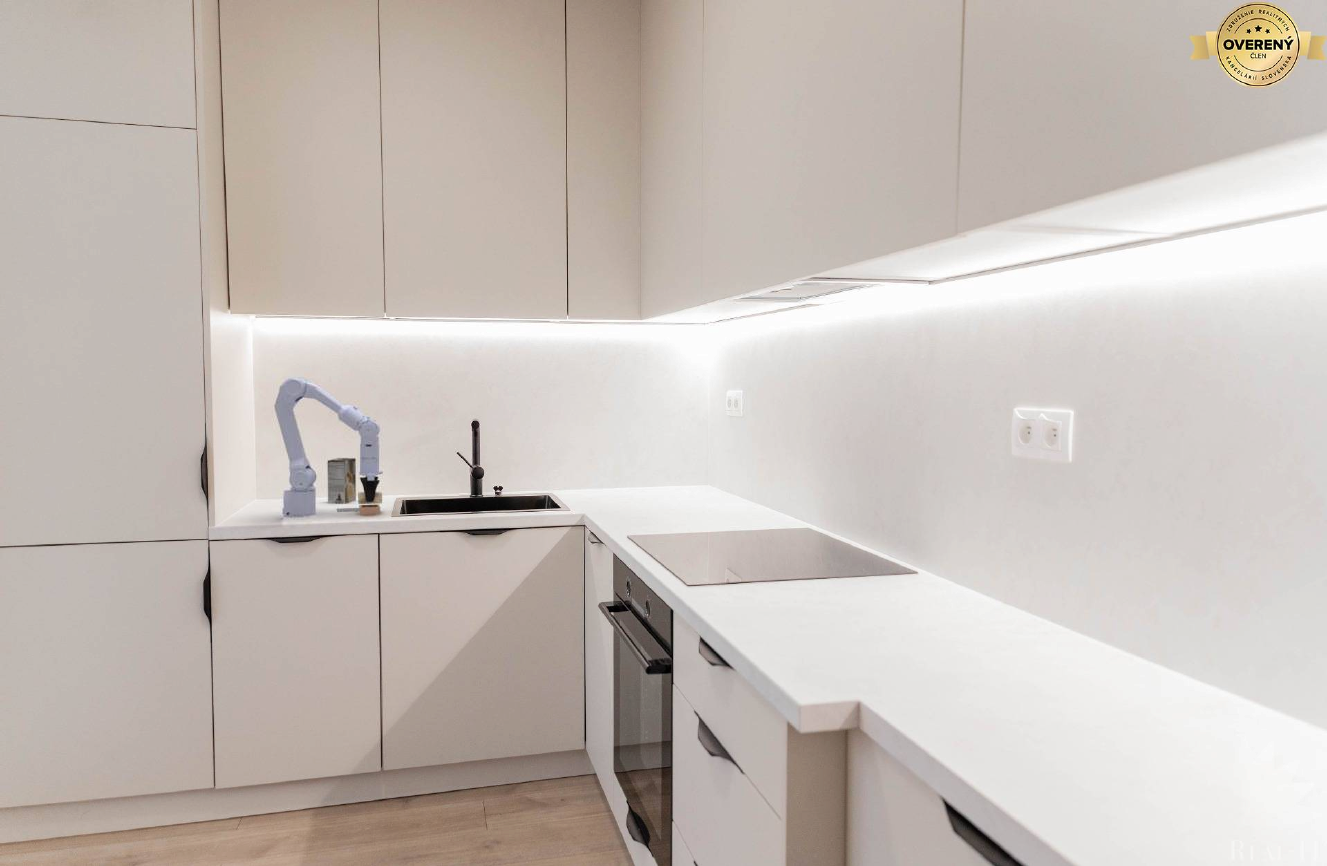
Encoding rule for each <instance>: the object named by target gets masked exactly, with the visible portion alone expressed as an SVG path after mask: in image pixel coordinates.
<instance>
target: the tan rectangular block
mask: <svg viewBox="0 0 1327 866" xmlns="http://www.w3.org/2000/svg"><path fill="white" fill-rule="evenodd" d="M357 494H358V495H357V502H358V505H373V504H379V505H380V504H383V493H382V491H376V492H375V498H374V502H367V501H366V497H365V492H364V491H363V492H357Z"/></svg>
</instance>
